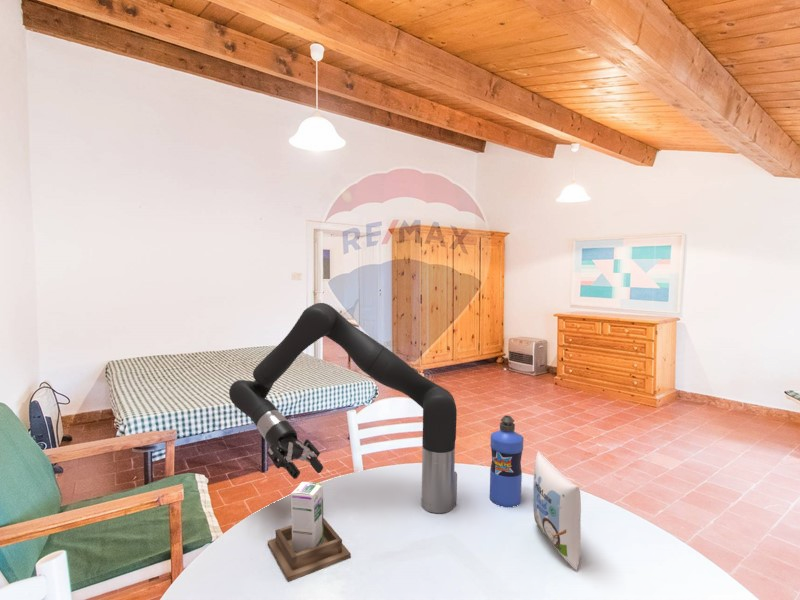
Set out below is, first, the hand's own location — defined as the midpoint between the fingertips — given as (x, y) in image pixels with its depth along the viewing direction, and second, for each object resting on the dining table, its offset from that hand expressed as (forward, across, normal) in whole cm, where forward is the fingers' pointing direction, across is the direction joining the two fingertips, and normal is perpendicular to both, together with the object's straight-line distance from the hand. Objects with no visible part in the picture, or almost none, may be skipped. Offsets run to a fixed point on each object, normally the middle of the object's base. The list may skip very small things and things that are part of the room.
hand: (309, 473), depth 113 cm
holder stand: (+13, -4, +11) cm, 17 cm away
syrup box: (+12, -4, +10) cm, 17 cm away
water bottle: (+35, +45, -13) cm, 59 cm away
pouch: (+52, +31, -19) cm, 64 cm away
